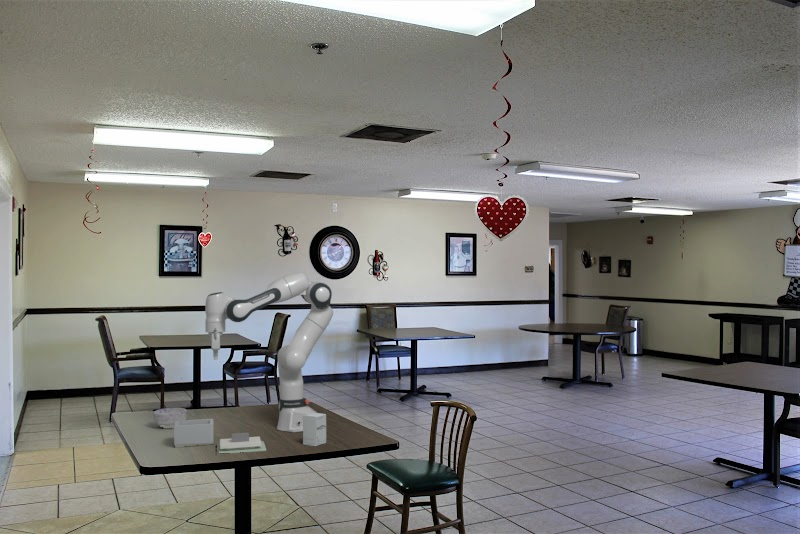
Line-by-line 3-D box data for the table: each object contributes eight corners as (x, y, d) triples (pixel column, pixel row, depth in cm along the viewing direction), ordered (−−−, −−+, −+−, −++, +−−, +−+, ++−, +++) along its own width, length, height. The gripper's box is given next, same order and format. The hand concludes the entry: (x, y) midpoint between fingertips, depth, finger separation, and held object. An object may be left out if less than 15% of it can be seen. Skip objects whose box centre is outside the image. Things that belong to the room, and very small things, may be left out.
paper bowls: (176, 430, 325) (176, 413, 326) (147, 429, 328) (147, 412, 329) (192, 424, 340) (192, 407, 340) (164, 423, 343) (164, 407, 344)
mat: (263, 442, 301) (263, 440, 301) (266, 450, 285) (266, 449, 285) (215, 445, 296) (215, 444, 296) (216, 454, 280) (216, 453, 280)
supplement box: (316, 446, 292) (315, 416, 292) (302, 444, 296) (302, 415, 296) (326, 443, 298) (326, 413, 298) (313, 441, 302) (313, 412, 302)
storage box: (213, 438, 308) (213, 418, 308) (213, 445, 296) (213, 424, 296) (175, 441, 304) (175, 420, 304) (174, 447, 292) (174, 426, 292)
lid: (259, 442, 299) (259, 429, 299) (261, 448, 287) (261, 435, 287) (219, 444, 294) (219, 432, 295) (220, 451, 282) (220, 438, 282)
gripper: (223, 329, 305) (223, 360, 305) (222, 326, 325) (222, 355, 325) (208, 329, 303) (208, 361, 303) (208, 326, 323) (208, 356, 323)
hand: (215, 358), depth 314 cm, fingers open, 8 cm apart
